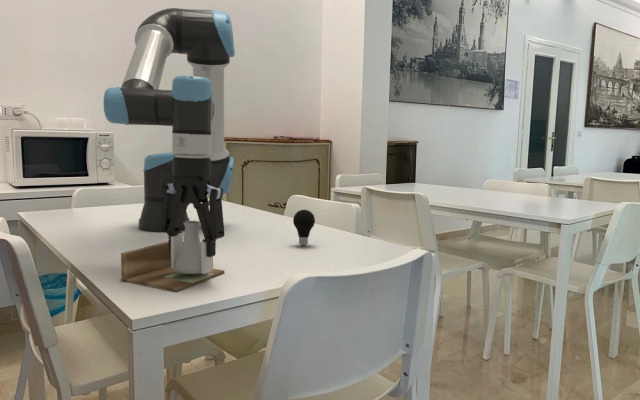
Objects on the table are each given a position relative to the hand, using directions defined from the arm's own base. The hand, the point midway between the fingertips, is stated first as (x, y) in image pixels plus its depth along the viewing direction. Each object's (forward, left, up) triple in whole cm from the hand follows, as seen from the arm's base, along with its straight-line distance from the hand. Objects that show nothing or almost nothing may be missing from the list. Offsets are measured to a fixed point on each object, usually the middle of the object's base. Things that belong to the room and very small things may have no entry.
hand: (191, 269), depth 102 cm
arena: (-4, 0, -2) cm, 5 cm away
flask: (0, 0, 0) cm, 0 cm away
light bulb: (+5, +40, -2) cm, 40 cm away
